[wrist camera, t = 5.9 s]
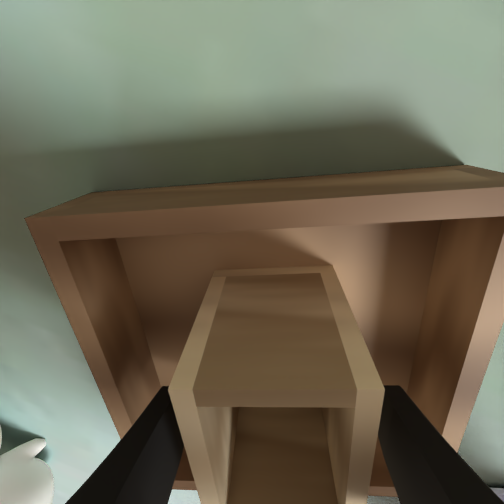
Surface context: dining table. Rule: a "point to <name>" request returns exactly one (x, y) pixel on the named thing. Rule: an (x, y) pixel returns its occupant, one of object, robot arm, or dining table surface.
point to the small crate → (278, 391)
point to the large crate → (290, 255)
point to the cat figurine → (25, 475)
